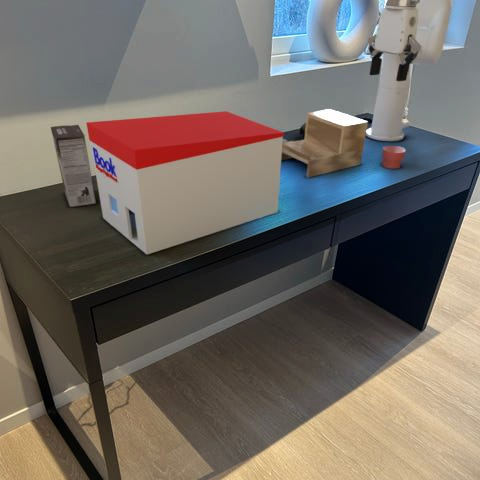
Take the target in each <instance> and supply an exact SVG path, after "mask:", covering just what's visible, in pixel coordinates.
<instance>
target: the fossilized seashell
mask: <svg viewBox="0 0 480 480" xmlns="http://www.w3.org/2000/svg"><path fill="white" fill-rule="evenodd" d="M305 128H306V122H304V123H303V124H302V125H301V126H300V127H299V134H300V135H302V136H305Z"/></svg>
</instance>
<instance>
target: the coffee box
mask: <svg viewBox="0 0 480 480" xmlns="http://www.w3.org/2000/svg"><path fill="white" fill-rule="evenodd" d="M50 131H51V134H52V140H53V144H54V149H55V154H56V159H57V163H58V167H59V172H60V177H61V181H62V186H63V190H64V192H65V193H64V194H65V197H66V200H67V203H68V206H69V207H71V208H72V207H79V206H86V205H87V206H88V205H93V204H96V203H97V201H96V195H95V190H94V189H95V188H94V183H93V177H92V171H91V170H92V169H91V164H90V158H89V153H88V146H87V142H86V135H85V133H84V132H83V130H82V128H81V127H80V125H79V124H73V125H55V126H50Z"/></svg>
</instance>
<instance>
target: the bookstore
mask: <svg viewBox="0 0 480 480" xmlns="http://www.w3.org/2000/svg"><path fill="white" fill-rule="evenodd" d="M86 129H87V135H88V140H89V141H90V148H91V155H92V160H93V165H94V166H93V167H94V171H95V177H96V178H95V179H96V185H97V189H98V195H99V201H100V208H101V213H102V218H103V220H105V221H106V222H107V223H109V224H110V226H112V227H113V228H114V229H115V230H116V231H118V232H119V233H120V234H121V235H123V236H124V237H125V238H126V239H127V240H129V241H130V242H131V243H132V244H133V245H135V247H137V248H138V249H139V250H141V251H142V252H143V253H144V254H145V255H150V254H153V253H156V252H159V251H162V250H165V249H169V248H171V247H174V246H178V245H181V244H185V243H187V242H190V241H193V240H197V239H200V238H203V237H205V236H208V235H212V234H215V233H218V232H222V231H224V230H227V229H231V228H233V227H236V226H240V225H243V224H246V223H249V222H252V221H254V220H257V219H261V218H264V217H267V216H270V215H273V214H277V213H278V212H279V197H280V183H281V168H282V160H281V155H282V140H283V139H284V132H283V131H281V130H280V131H278V130H279V129H278V130H277V129H276V128H273V127H270V126H268V125H264V124H262V123H259V122H257V121H253V120H251V119H248V118H245V117H243V116H240V115H238V114H235V113H232V112H230V111H227V110H226V111H214V112H213V111H212V112H211V111H210V112H200V113H187V114H176V115H164V116H150V117H137V118H136V117H135V118H126V119H112V120H111V119H110V120H99V121H88V122H86Z"/></svg>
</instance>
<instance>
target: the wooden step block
mask: <svg viewBox="0 0 480 480" xmlns="http://www.w3.org/2000/svg"><path fill="white" fill-rule="evenodd" d="M305 123H306V128H305V135H304V139H300V140H295V141H293V142H290V141H289V142H290V143H285V144H283V143H282V155H281V161H284V160H290V159H293V158H294V159H295V160H298V161H300V162H303V164H306V165H307V167H306V178H312V177H316V176H320V175H324V174H329V173H332V172H336V171H340V170H344V169H348V168H352V167H356V166H359V165H362V159H363V154H364V147H365V141H366V137H367V136H366V130H367V129H368V125H369V121H368V120H364V119H362V118H358V117H356V116H352V115H349V114H347V113H344V112H340V111H337V110H334V109H331V108H327V109H323V110H317V111H311V112H307V113H306V119H305Z"/></svg>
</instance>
